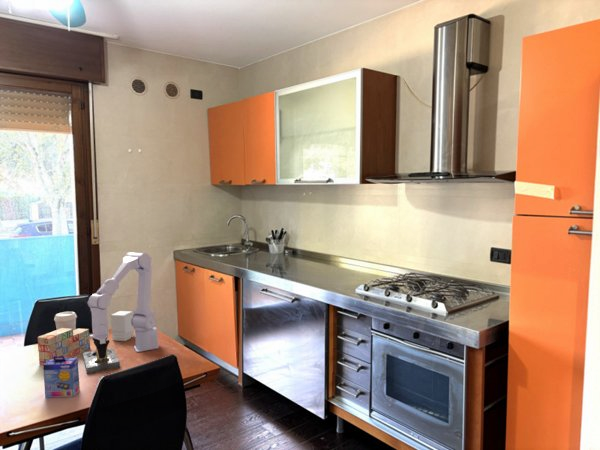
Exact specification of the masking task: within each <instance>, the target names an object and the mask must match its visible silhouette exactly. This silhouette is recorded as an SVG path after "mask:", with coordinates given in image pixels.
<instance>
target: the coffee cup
mask: <svg viewBox="0 0 600 450" xmlns="http://www.w3.org/2000/svg"><path fill="white" fill-rule="evenodd" d="M77 318H78V316H77V313H76V312H74V311H63V312H59V313H56V314H55V315H54V319H53V321H54V322H55V327H56V330H58V329H60V328H68V329H73V330H75V329H77V328H76V327H77Z"/></svg>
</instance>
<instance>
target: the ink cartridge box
mask: <svg viewBox="0 0 600 450" xmlns="http://www.w3.org/2000/svg"><path fill="white" fill-rule="evenodd" d="M53 358H54V359H49V360H48V361H47V362H46V363H44V364H43V366H42V370H43V381H44V382H43V384H44V395H45V396H44V397H45V399H49V398H50V399H51V398H52V399H53V398H73V397H75V395H77V394H78V393H79V392H80V391H81V387H80V375H79V373H80V372H79V361H78V360H79V359H78V357H71V358H66V359H65V358H64V356H53ZM56 358H59V359H56ZM61 358H63V359H61Z"/></svg>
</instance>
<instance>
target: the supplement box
mask: <svg viewBox="0 0 600 450" xmlns="http://www.w3.org/2000/svg"><path fill="white" fill-rule="evenodd" d="M132 316H133V311H128V310H127V311H125V310H119V311H117V312H114V313H112V314H111V315H110V317H111V318H110V319H111V320H110V321H111V334H112V335H111V337H112V341H116V342H117V341H120V342H121V341H122V342H126V341H128V340H130V339H132V338H134V337H135V329H134V327H133V326H132V325H131V318H132ZM133 336H134V337H133ZM131 337H132V338H131Z"/></svg>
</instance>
